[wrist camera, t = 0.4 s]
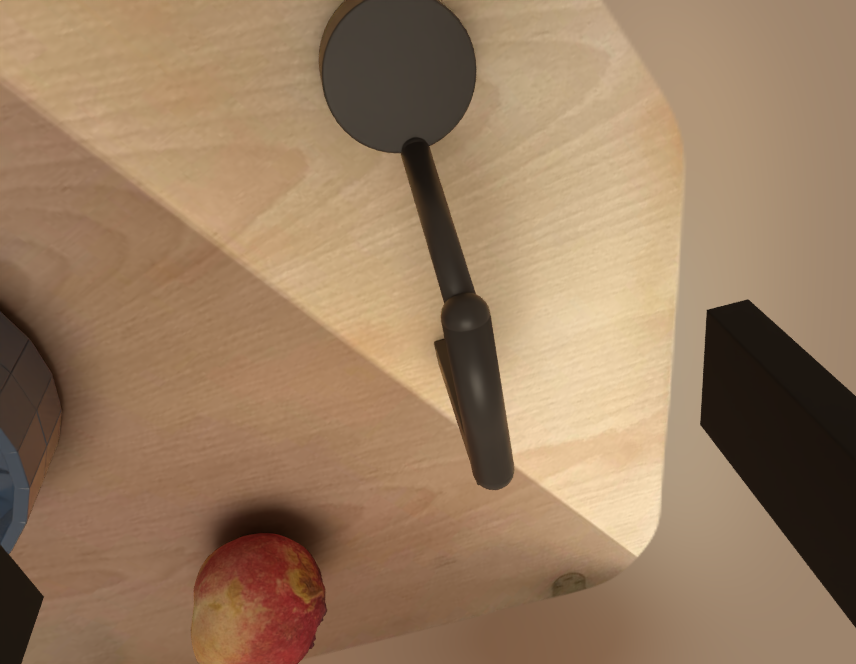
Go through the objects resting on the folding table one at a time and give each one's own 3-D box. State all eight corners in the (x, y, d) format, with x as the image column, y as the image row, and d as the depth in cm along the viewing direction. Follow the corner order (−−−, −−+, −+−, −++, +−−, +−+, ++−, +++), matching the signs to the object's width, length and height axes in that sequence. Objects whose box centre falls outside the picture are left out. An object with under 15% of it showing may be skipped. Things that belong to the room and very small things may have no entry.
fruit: (220, 489, 40) (208, 611, 33) (343, 516, 43) (354, 634, 36) (177, 575, 43) (159, 702, 36) (294, 595, 46) (297, 716, 39)
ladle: (300, 1, 27) (309, 57, 19) (451, -34, 27) (524, 6, 19) (399, 376, 37) (432, 516, 29) (506, 349, 38) (568, 480, 30)
